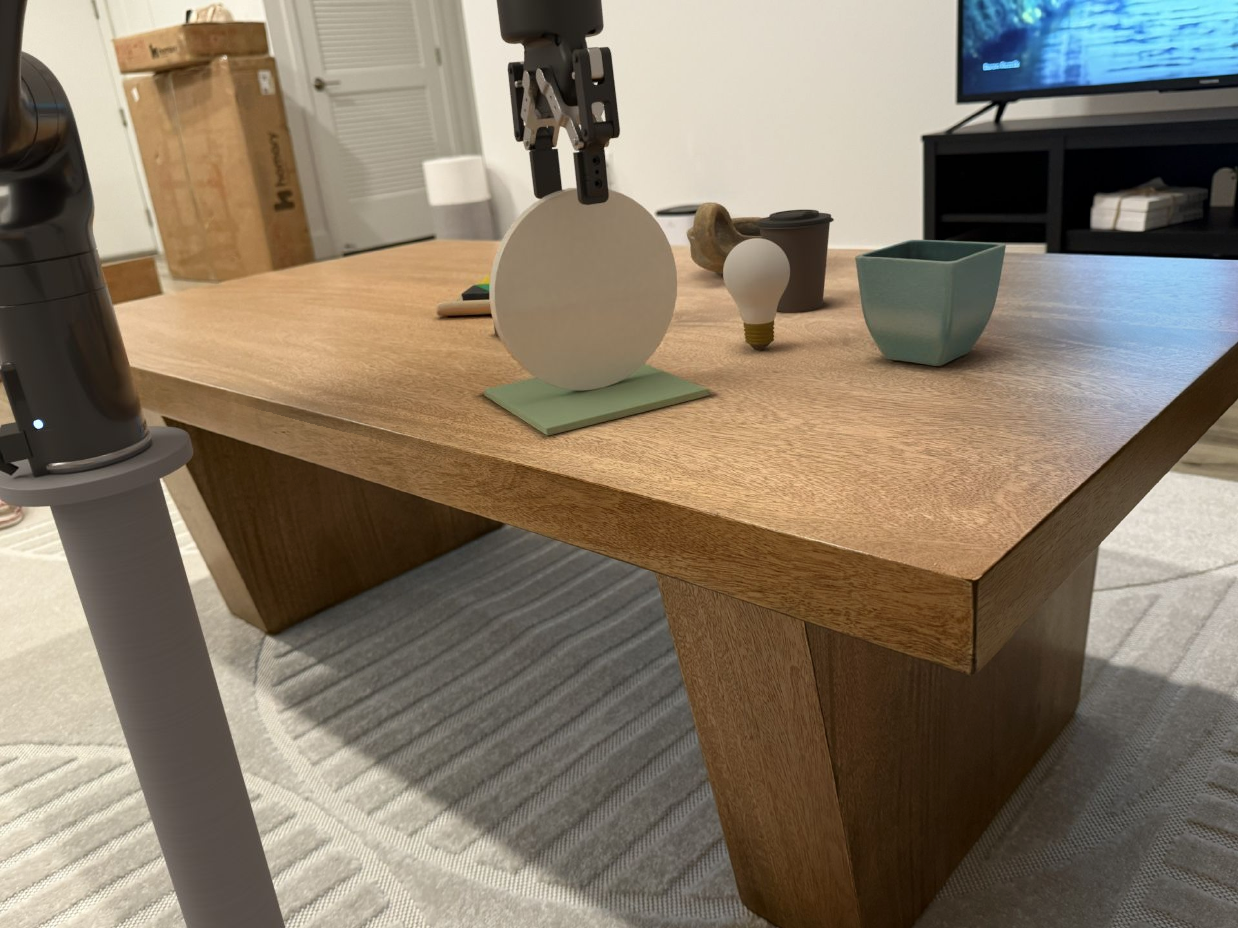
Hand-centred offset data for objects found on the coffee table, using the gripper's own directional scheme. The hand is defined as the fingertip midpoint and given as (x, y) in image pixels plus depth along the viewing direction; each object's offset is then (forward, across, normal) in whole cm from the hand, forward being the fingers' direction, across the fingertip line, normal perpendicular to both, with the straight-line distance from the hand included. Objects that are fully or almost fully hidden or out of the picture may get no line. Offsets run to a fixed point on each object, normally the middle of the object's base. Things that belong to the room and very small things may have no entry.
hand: (570, 200), depth 76 cm
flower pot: (+16, +11, +26) cm, 32 cm away
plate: (+15, 0, 0) cm, 15 cm away
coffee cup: (+16, -14, +31) cm, 38 cm away
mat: (+16, 0, 0) cm, 16 cm away
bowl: (+16, -35, +37) cm, 53 cm away
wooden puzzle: (+16, -44, +12) cm, 48 cm away
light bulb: (+16, -2, +18) cm, 24 cm away
